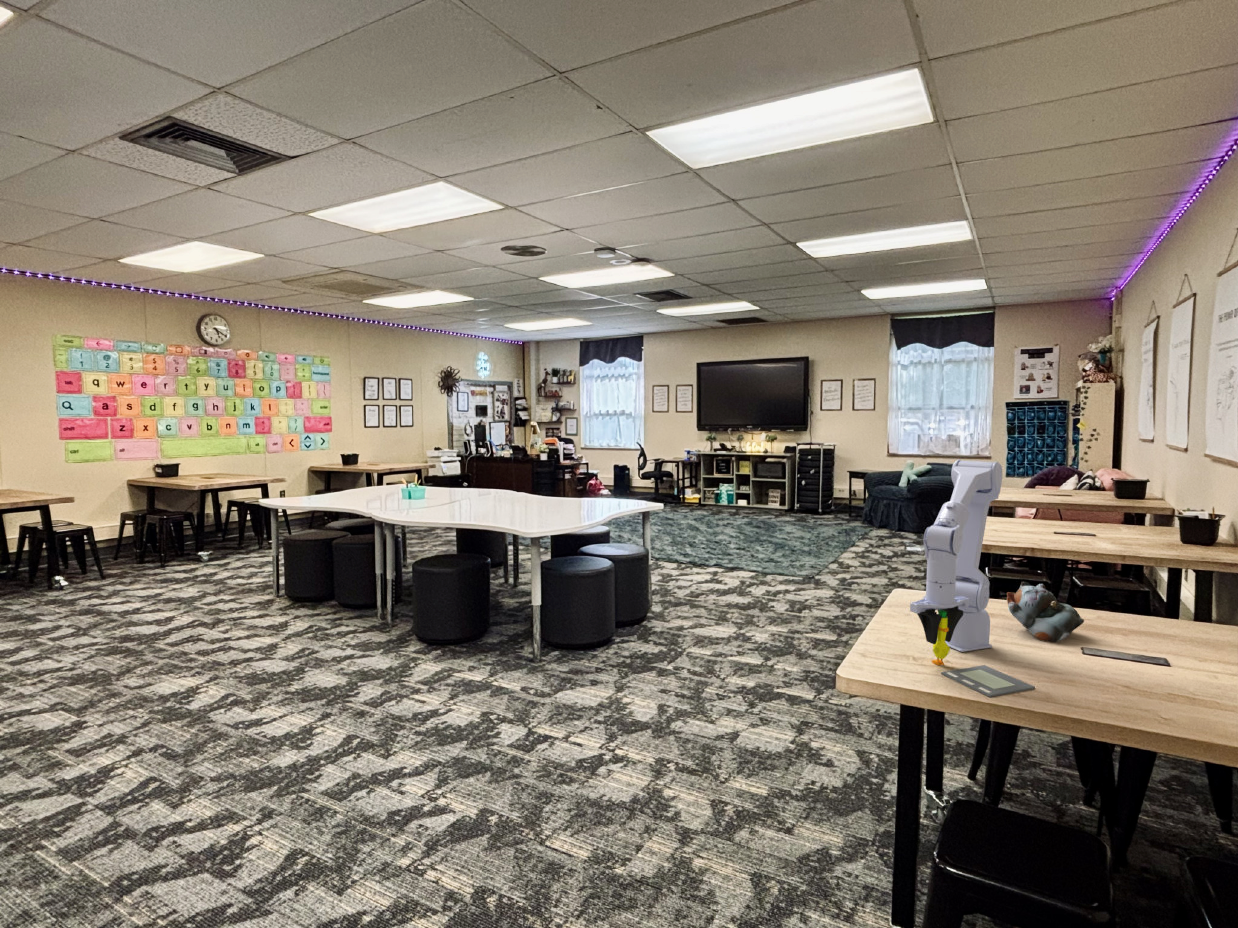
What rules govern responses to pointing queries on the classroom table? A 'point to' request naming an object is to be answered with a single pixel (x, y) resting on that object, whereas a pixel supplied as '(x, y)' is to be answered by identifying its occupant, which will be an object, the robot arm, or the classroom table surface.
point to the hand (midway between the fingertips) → (938, 641)
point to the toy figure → (941, 640)
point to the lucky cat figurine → (1042, 613)
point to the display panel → (987, 680)
